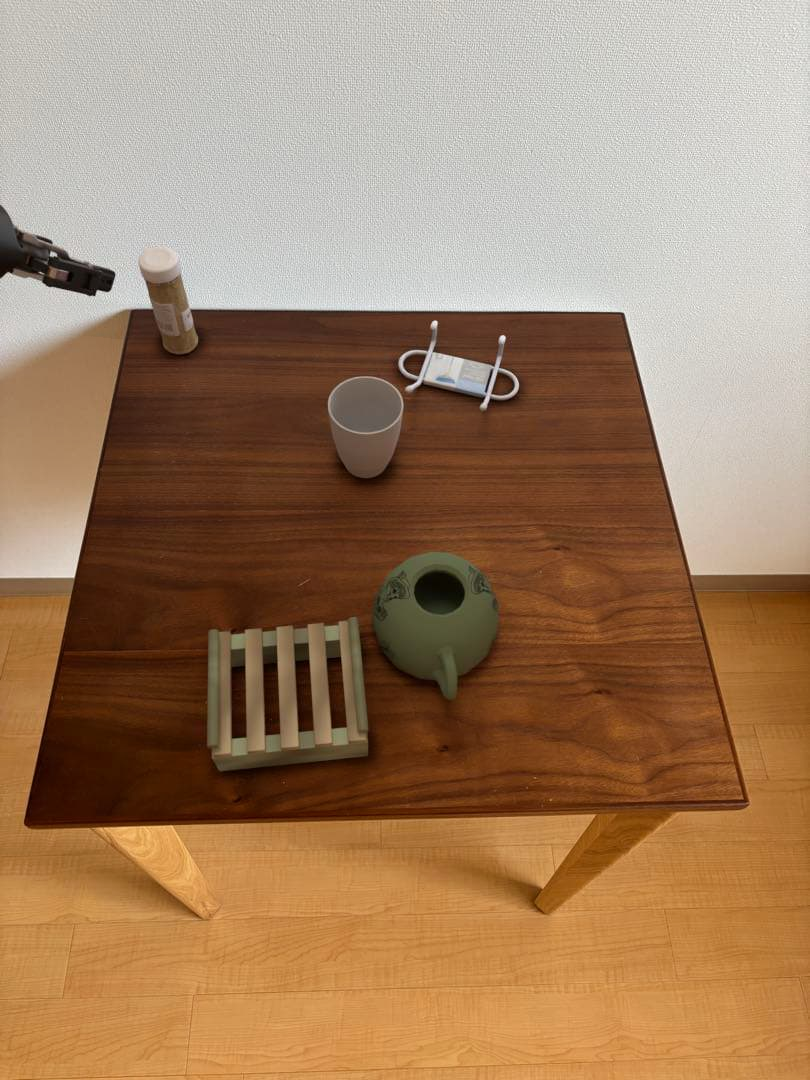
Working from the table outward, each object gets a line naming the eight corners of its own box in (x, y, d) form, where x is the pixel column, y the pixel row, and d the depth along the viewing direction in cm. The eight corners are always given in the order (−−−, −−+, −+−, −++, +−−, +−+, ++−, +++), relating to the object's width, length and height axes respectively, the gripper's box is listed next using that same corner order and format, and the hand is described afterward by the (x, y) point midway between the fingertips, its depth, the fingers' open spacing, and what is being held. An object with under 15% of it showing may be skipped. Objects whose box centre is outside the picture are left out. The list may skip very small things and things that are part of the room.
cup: (367, 423, 99) (367, 365, 90) (414, 462, 96) (419, 406, 88) (317, 459, 96) (312, 402, 87) (364, 501, 93) (363, 446, 84)
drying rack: (217, 771, 76) (206, 750, 71) (218, 653, 82) (207, 625, 77) (369, 756, 77) (369, 733, 72) (358, 641, 84) (357, 612, 78)
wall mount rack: (524, 365, 105) (532, 332, 100) (504, 445, 98) (511, 413, 93) (407, 340, 107) (409, 305, 102) (379, 416, 100) (379, 383, 95)
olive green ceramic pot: (365, 580, 87) (365, 538, 80) (484, 570, 89) (494, 527, 81) (381, 724, 79) (382, 691, 72) (511, 710, 80) (526, 677, 73)
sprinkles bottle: (206, 344, 105) (185, 258, 93) (176, 361, 103) (152, 276, 92) (184, 325, 107) (162, 238, 95) (155, 342, 105) (129, 256, 93)
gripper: (14, 217, 65) (144, 255, 81) (-109, 156, 69) (37, 204, 84) (-10, 306, 68) (121, 327, 83) (-128, 243, 71) (18, 274, 86)
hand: (79, 265), depth 83 cm, fingers open, 8 cm apart
